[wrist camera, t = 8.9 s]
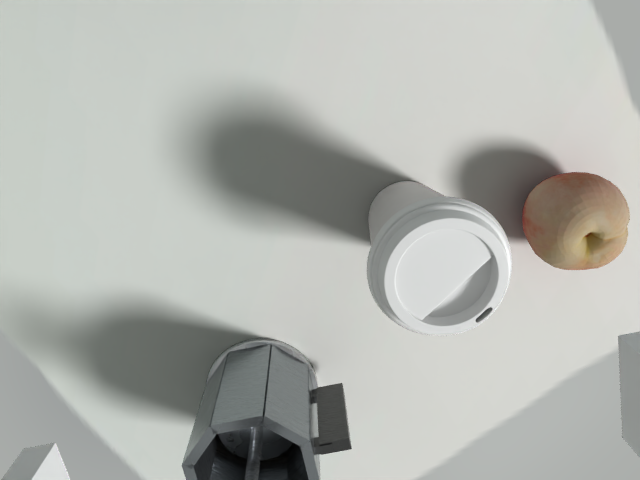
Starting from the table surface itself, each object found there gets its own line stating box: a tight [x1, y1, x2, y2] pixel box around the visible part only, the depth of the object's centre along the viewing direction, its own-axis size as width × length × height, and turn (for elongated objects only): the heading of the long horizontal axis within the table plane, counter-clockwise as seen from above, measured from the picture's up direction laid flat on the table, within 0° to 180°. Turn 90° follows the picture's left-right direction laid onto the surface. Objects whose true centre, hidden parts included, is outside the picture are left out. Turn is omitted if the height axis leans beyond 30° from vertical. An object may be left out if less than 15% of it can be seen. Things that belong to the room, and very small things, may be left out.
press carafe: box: [182, 339, 351, 480], centre depth 49 cm, size 11×13×12 cm
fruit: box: [522, 172, 630, 270], centre depth 46 cm, size 8×8×8 cm
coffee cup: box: [367, 181, 512, 336], centre depth 43 cm, size 10×10×15 cm
